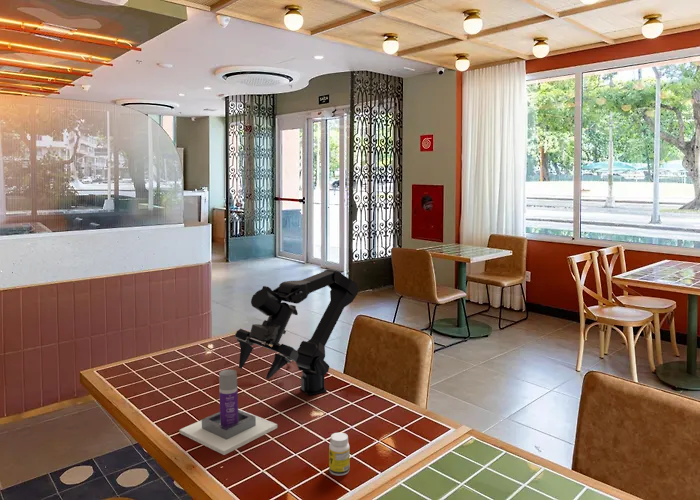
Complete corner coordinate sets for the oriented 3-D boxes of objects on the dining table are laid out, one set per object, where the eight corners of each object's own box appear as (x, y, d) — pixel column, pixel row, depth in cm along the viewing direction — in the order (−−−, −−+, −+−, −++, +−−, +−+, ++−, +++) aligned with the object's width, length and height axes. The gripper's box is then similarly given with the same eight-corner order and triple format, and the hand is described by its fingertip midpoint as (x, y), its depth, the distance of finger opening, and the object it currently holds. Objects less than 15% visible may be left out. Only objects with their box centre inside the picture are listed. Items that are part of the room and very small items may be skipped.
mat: (233, 409, 155) (233, 406, 155) (277, 427, 144) (277, 424, 144) (179, 433, 141) (179, 429, 141) (224, 455, 130) (224, 451, 130)
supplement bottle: (328, 465, 126) (328, 431, 125) (348, 464, 126) (348, 430, 125) (329, 476, 121) (329, 441, 120) (350, 476, 121) (350, 441, 120)
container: (227, 432, 139) (225, 377, 137) (216, 426, 142) (215, 372, 140) (242, 426, 143) (240, 372, 141) (231, 420, 146) (229, 368, 144)
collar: (231, 415, 149) (231, 406, 149) (255, 425, 143) (255, 416, 143) (201, 428, 141) (201, 419, 141) (226, 439, 135) (226, 430, 135)
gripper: (238, 303, 151) (212, 355, 146) (294, 322, 144) (269, 377, 138) (254, 316, 160) (231, 365, 155) (308, 335, 153) (285, 387, 148)
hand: (253, 373), depth 149 cm, fingers open, 9 cm apart
